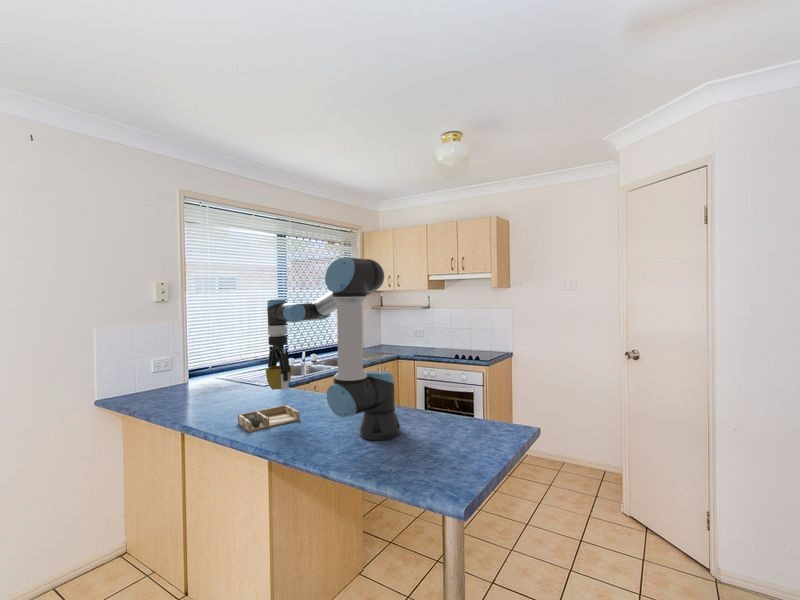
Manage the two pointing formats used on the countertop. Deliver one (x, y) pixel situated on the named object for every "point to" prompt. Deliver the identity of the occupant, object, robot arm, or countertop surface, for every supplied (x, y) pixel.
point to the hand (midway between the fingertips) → (279, 386)
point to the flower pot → (275, 377)
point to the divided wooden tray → (269, 417)
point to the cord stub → (253, 420)
